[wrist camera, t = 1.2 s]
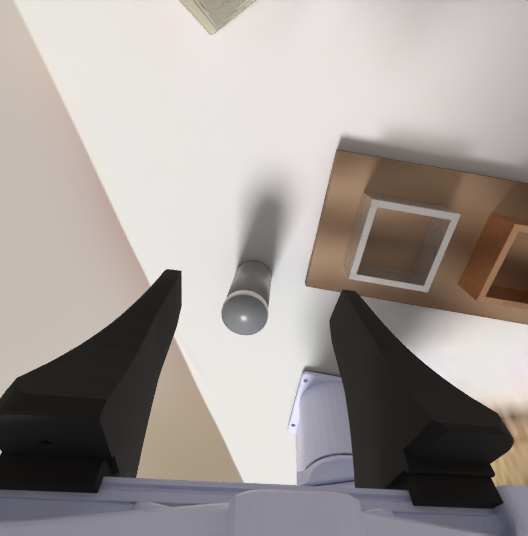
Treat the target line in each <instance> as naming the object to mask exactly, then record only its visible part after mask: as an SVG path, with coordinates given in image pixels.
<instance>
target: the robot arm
mask: <svg viewBox="0 0 528 536" xmlns="http://www.w3.org/2000/svg"><path fill="white" fill-rule="evenodd" d="M181 305H182V302H181V271H178V270H169V269H167V270H165V271H164V272H163V273H162V275H161V276H160V277H159V278H158V279H157V280H156V281H155V283H154V284H153V285H152V286H151V287H150V288H149V289H148V290H147V291H146V292H145V293H144V294H143V295H142V296H141V297H140V298H139V299H138V300H137V301H136V302H135V303H134V304H133V305H132V306H131V307H130V308H129V309H127V310H126V311H125V312H124V313H123V314H122V315H121V316H120V317H118V318H117V319H116V320H115V321H114V322H112V323H111V324H110V325H108V326H107V327H106V328H104V329H103V330H101V331H100V332H99V333H97V334H96V335H94V336H93V337H91V338H90V339H88V340H87V341H85V342H84V343H82V344H81V345H79V346H77V347H76V348H74V349H73V350H71V351H69V352H67V353H65V354H64V355H62V356H60V357H58V358H57V359H55V360H53V361H51V362H49V363H47V364H45V365H43V366H41V367H39V368H37V369H35V370H33V371H30V372H29V373H26V374H24V375H22V376H20V377H18V378H16V380H15V381H14V382H13V383H12V385H10V387H9V388H8V389H7V390H6V391H5V393H4V394H3V395H2V397H1V398H0V450H1V451H2V453H1V455H0V536H528V486H514V485H502V486H498V487H495V485H494V483H493V481H492V479H491V477H494V476H495V473H494V471H493V469H492V467H491V465H490V463H492V462H493V461H495V460H496V459H498V458H499V457H501V456H502V455H504V454H505V453H506V452H507V451H509V450H510V449H511V447H512V445H513V443H514V440H513V437H512V435H511V434H510V432H509V430H508V429H507V427H506V426H505V424H504V422H503V421H502V419H501V418H500V416H499V415H498V413H496V412H494V411H493V410H491V409H489V408H488V407H486V406H484V405H483V404H481V403H479V402H478V401H476V400H474V399H473V398H471V397H470V396H468V395H467V394H465V393H464V392H462V391H461V390H459V389H458V388H456V387H455V386H453V385H452V384H450V383H449V382H448V381H446V380H445V379H444V378H442V377H441V376H440V375H438V374H437V373H436V372H434V371H433V370H432V369H431V368H429V367H428V366H427V365H426V364H424V363H423V362H422V361H421V360H420V359H419V358H417V357H416V356H415V355H414V354H413V353H412V352H411V351H410V350H409V349H407V348H406V347H405V346H404V345H403V344H402V343H401V342H400V341H399V340H398V339H397V338H396V337H395V336H394V335H393V334H392V333H391V331H390V330H389V329H388V328H387V327H386V326H385V325H384V324H383V323H382V322H381V320H380V319H379V318H378V317H377V316H376V315H375V313H374V312H373V311H372V310H371V309H370V308H369V306H368V305H367V304H366V303H365V302H364V300H363V299H362V298H361V297H360V296H359V294H358V293H357V292H356V291H351V290H343V289H342V292H341V294H340V296H339V299H338V301H337V304H336V306H335V309H334V311H333V313H332V316H331V318H330V330H331V338H332V344H333V348H334V352H335V356H336V360H337V364H338V367H339V371H340V375H341V377H337V376H331V375H325V374H320V373H314V372H308V371H305V372H303V373H302V377H301V380H300V384H299V388H298V391H297V395H296V399H295V402H294V406H293V410H292V413H291V417H290V421H289V425H288V432H289V433H291V434H296V461H297V485H278V484H256V483H233V482H211V481H188V480H165V479H143V478H136V475H137V470H138V465H139V461H140V456H141V451H142V446H143V442H144V438H145V433H146V429H147V424H148V420H149V416H150V411H151V407H152V403H153V399H154V395H155V391H156V387H157V383H158V379H159V375H160V372H161V369H162V366H163V363H164V361H165V358H166V355H167V352H168V350H169V346H170V344H171V341H172V338H173V336H174V333H175V330H176V327H177V323H178V319H179V314H180V310H181ZM304 379H307V380H304Z"/></svg>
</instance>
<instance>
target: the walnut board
mask: <svg viewBox="0 0 528 536" xmlns="http://www.w3.org/2000/svg"><path fill="white" fill-rule="evenodd" d="M363 192H366V193H371V194H377V195H383V196H389V197H394V198H400V199H406V200H412V201H417V202H423V203H429V204H435V205H440V206H443V207H446V208H448V209H450V210H452V211H454V212H457V213H459V214H461V215H460V218H459V220H458V222H457V225H456V227H455V229H454V232H453V234H452V237H451V239H450V241H449V244H448V246H447V248H446V251H445V253H444V255H443V258H442V260H441V262H440V265H439V267H438V269H437V272H436V274H435V276H434V279H433V281H432V284H431V286H430V288H429V291H428V292H422V291H416V290H410V289H405V288H399V287H393V286H387V285H381V284H376V283H370V282H364V281H358V280H353V279H348V276H347V274H346V272H345V269H344V267H343V265H342V264H343V261H344V257H345V254H346V250H347V247H348V243H349V240H350V236H351V233H352V229H353V226H354V222H355V219H356V215H357V212H358V208H359V205H360V201H361V198H362V194H363ZM490 214H492V215H498V216H504V217H509V218H515V219H521V220H527V221H528V183H523V182H517V181H512V180H506V179H500V178H494V177H489V176H483V175H477V174H471V173H466V172H460V171H454V170H448V169H443V168H437V167H431V166H426V165H420V164H414V163H408V162H403V161H397V160H391V159H385V158H380V157H374V156H368V155H362V154H357V153H351V152H345V151H339V150H336V154H335V159H334V163H333V167H332V171H331V175H330V180H329V184H328V188H327V192H326V196H325V201H324V205H323V209H322V213H321V217H320V221H319V226H318V230H317V234H316V238H315V242H314V247H313V251H312V255H311V259H310V263H309V268H308V272H307V276H306V280H305V284H306V286H308V287H313V288H319V289H325V290H331V291H336V292H342V289H343V290H351V291H356V292H357V293H358V294H359V295H360V296H365V297H371V298H377V299H383V300H388V301H394V302H400V303H406V304H412V305H417V306H423V307H429V308H435V309H440V310H446V311H452V312H458V313H464V314H469V315H475V316H481V317H487V318H492V319H498V320H504V321H510V322H516V323H521V324H527V325H528V310H526V309H520V308H514V307H509V306H503V305H497V304H491V303H485V302H480V301H476V300H475V299H474V298H472V297H471V296H470V295H469V294H468V293H467V292H466V291H464V290H463V289H462V288H461V287H460V286H459V285H458V282H459V280H460V278H461V276H462V274H463V271H464V269H465V267H466V265H467V263H468V261H469V258H470V256H471V254H472V252H473V250H474V248H475V246H476V243H477V241H478V239H479V237H480V235H481V233H482V230H483V228H484V226H485V224H486V222H487V220H488V218H489V215H490ZM430 218H431V216H426V215H420V214H414V213H409V212H403V211H397V210H391V209H386V208H380V207H377V210H376V213H375V216H374V219H373V223H372V226H371V229H370V232H369V235H368V239H367V242H366V245H365V248H364V252H363V255H362V258H361V261H360V262H362V263H367V264H373V265H379V266H385V267H390V268H396V269H402V270H408V271H410V270H411V267H412V265H413V262H414V260H415V257H416V254H417V252H418V249H419V247H420V244H421V241H422V239H423V236H424V234H425V231H426V229H427V226H428V223H429V221H430ZM491 285H494V286H500V287H506V288H512V289H517V290H523V291H526V290H527V288H528V233H524V232H518V234H517V236H516V238H515V239H514V241H513V243H512V245H511V247H510V249H509V251H508V253H507V255H506V257H505V259H504V261H503V263H502V265H501V267H500V269H499V271H498V273H497V274H496V276H495V278H494V280H493V282H492V284H491Z"/></svg>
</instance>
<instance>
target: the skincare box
mask: <svg viewBox="0 0 528 536" xmlns="http://www.w3.org/2000/svg"><path fill="white" fill-rule="evenodd" d="M179 1H180V2H181V3H182V4H183V5H184V6H185V7H186V9H187V10H188V11H189V12H190V13H191V14H192V15H193V16H194V18H195V19H196V20H197V21H198V22H199V23H200V24H201V25H202V26H203V28H204V29H205V30H206V31H207V32H208V33H209V34H210V35H213V34H214V33H216V32H217V31H218V30H220V29H221V28H222V27H224V26H225V25H226V24H227V23H229V22H230V21H231V20H233V19H234V18H235V17H236V16H238V15H239V14H240V13H241V12H243V11H244V10H245V9H246V8H247V7H249V6H250V5H251V4H252V3H253V2H255V1H256V0H179Z"/></svg>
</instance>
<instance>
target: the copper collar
mask: <svg viewBox="0 0 528 536" xmlns="http://www.w3.org/2000/svg"><path fill="white" fill-rule="evenodd" d="M518 232H524V233H528V221H527V220H521V219H515V218H509V217H504V216H498V215H492V214H490V215H489V218H488V220H487V222H486V224H485V226H484V228H483V230H482V233H481V235H480V237H479V239H478V241H477V243H476V246H475V248H474V250H473V252H472V254H471V256H470V258H469V261H468V263H467V265H466V267H465V269H464V271H463V274H462V276H461V278H460V280H459V282H458V285H459V286H460V287H461V288H462V289H463V290H464V291H466V292H467V293H468V294H469V295H470V296H471V297H472V298H474V299H475V300H476V301H480V302H485V303H491V304H497V305H503V306H509V307H514V308H520V309H526V310H528V288H527V290H526V291H523V290H517V289H512V288H506V287H500V286H494V285H491V284H492V282H493V280H494V278H495V276H496V274H497V273H498V271H499V269H500V267H501V265H502V263H503V261H504V259H505V257H506V255H507V253H508V251H509V249H510V247H511V245H512V243H513V241H514V239H515V238H516V236H517V234H518Z"/></svg>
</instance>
